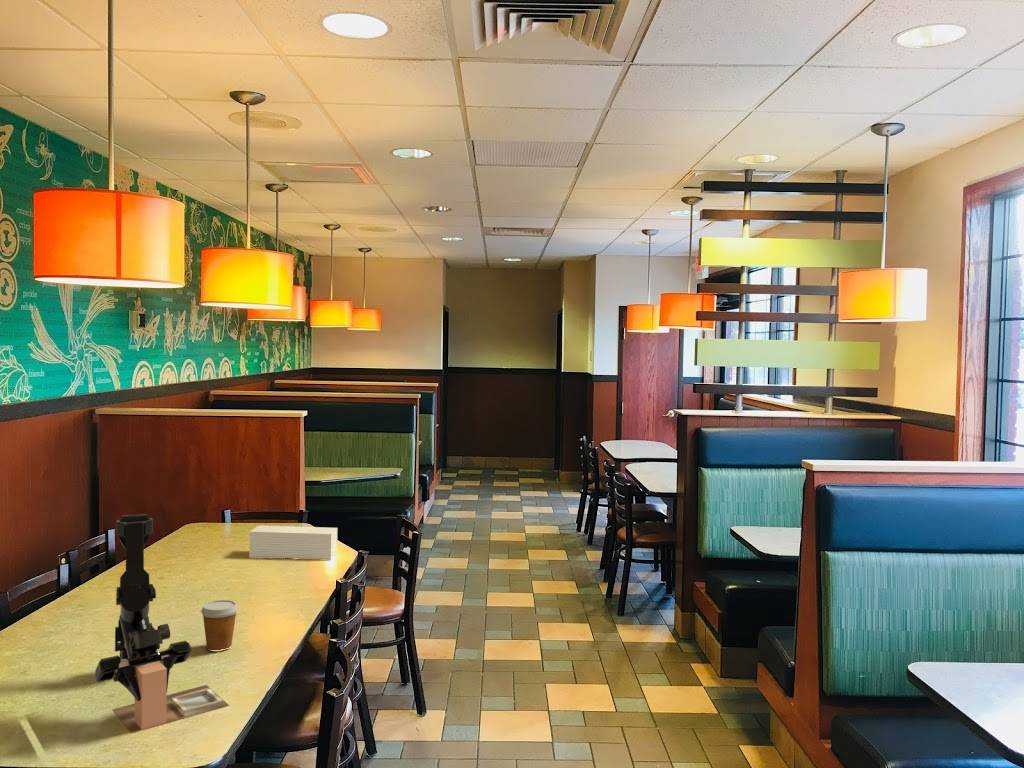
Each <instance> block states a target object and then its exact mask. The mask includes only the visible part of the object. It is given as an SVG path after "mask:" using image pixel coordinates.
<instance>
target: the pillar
mask: <svg viewBox="0 0 1024 768" xmlns="http://www.w3.org/2000/svg"><path fill="white" fill-rule="evenodd" d="M135 678H136V681H137V685H138V688H139V691H140V696H141V700H140V701H137V700H136V698H135V697H134V704H135V719H134V721H135V722H136V724H137V725H138V726H139V727H140V728H141V730H142V731H144V730H143V729H146V730H148V729H147V728H149V729H151V728H150V727H153V728H155V727H154V726H156V727H158V726H157V725H160V726H162V725H161V724H163V725H165V724H164V723H166V695H168V688H167V668H166V667H165V666H164V665H162V664H161V663H160V662H159V661H158V662H153V663H149V664H146V665H141V666H137V667H135Z"/></svg>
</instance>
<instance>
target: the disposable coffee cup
mask: <svg viewBox="0 0 1024 768" xmlns="http://www.w3.org/2000/svg"><path fill="white" fill-rule="evenodd" d="M238 609H239V607H238V605H237V602H236V601H234V600H230V599H217V600H212V601H211V600H210V601H208V602H206V603H204V604H203V605H202V609H201V611H200V612H201V615H202V617H203V626H204V635H205V643H206V650H207V649H210V650H221V649H226V648H229V647H230V646H231V647H232V645H233V636H234V630H235V625H236V624H235V622H236V617H237V616H236V615H237V612H238Z"/></svg>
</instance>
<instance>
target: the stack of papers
mask: <svg viewBox="0 0 1024 768" xmlns="http://www.w3.org/2000/svg"><path fill="white" fill-rule="evenodd" d="M248 549H249V550H248V551H249V553H248V554H249V556H248V559H263V558H282V559H281V560H286V559H285V558H298V559H325V560H324V561H330V560H331V559H332V558H333V557H336V556H337V554H336V553H338V527H324V526H323V527H319V526H290V525H289V526H288V525H287V526H284V525H257V526H256V527H253V529H251V530H250V531H249V548H248ZM283 558H284V559H283ZM333 559H334V558H333ZM333 559H332V560H333ZM332 560H331V561H332Z"/></svg>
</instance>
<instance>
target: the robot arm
mask: <svg viewBox="0 0 1024 768" xmlns="http://www.w3.org/2000/svg"><path fill="white" fill-rule="evenodd" d="M153 523H154V521H153V518H152V517H149V518H148V513H144V514H127V515H126V514H125V515H123V514H122V515H121V519H117V520H116V529H115V530H116V532H115V533H116V534H115V535H116V537H118V539H119V542H120V543H121V545H122V547H123V549H124V550H125V571H124V572H123V573H122V574H121V575H120V576H119V586H117V587H116V594H115V596H116V597H115V598H116V599H115V605H116V606H118V605H119V606H120V615H119V617H118V621H117V623H118V626H115V628H114V630H115V631H114V652H115V653H116V652H119V655H114V656H110V657H109V656H108V657H104V658H100V660H99V661H98V663H97V666H96V668H95V671H94V676H95V679H96V680H95V681H96V683H101V682H104V681H105V682H106V681H109V680H112V681H113V682H114V683H116V682H118V683H119V684H121V686H123V687H124V688H125V689H127V690H128V692H129V693H130V694H131V695H132V696H133V698H134V699H135V698H136V700H137V701H140V700H141V696H140V691H139V688H138V685H137V681H136V678H135V667H137V666H141V665H146V664H150V663H154V662H160V663H161V664H162V665H164V666H165V667H166V668H167V689H168V687H169V676H170V672H171V669H172V668H173V667H174V665H178V664H182V663H184V662H186V660H187V659H188V657H189V655H190V654H191V651H192V648H191V644H190V642H188V641H187V640H183V641H177V642H172V643H170V644H169V646H168V648H167V650H163V651H157V650H160V649H161V645H162V644H164V642H163V640H168V639H170V638H171V629H170V626H169V623H164V624H160V625H158V626H157V629H155V628H154V626H153V623H152V622H150V617H149V612H150V602H153V601H154V599H156V598H157V590H156V588H155V587H154V585H153V583H150V574H149V572H148V571H146V570H145V554H144V553H145V551H144V550H145V549H144V547H145V546H146V544H147V542H148V541H149V539H150V535H152V534H153V525H154V524H153Z"/></svg>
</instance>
